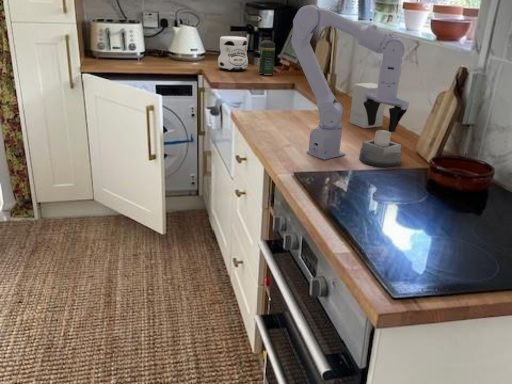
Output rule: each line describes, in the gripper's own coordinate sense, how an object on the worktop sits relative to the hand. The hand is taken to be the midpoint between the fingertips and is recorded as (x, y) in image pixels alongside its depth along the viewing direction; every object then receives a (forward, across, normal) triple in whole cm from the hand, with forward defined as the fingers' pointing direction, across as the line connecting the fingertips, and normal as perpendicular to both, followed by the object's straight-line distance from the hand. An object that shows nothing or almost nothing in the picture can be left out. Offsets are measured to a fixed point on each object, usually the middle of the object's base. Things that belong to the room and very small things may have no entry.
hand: (381, 128), depth 145 cm
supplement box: (+10, +29, -29) cm, 42 cm away
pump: (+7, -1, 0) cm, 7 cm away
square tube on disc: (+10, -1, 0) cm, 10 cm away
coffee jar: (+10, +128, -60) cm, 142 cm away
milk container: (+10, +149, -52) cm, 158 cm away
